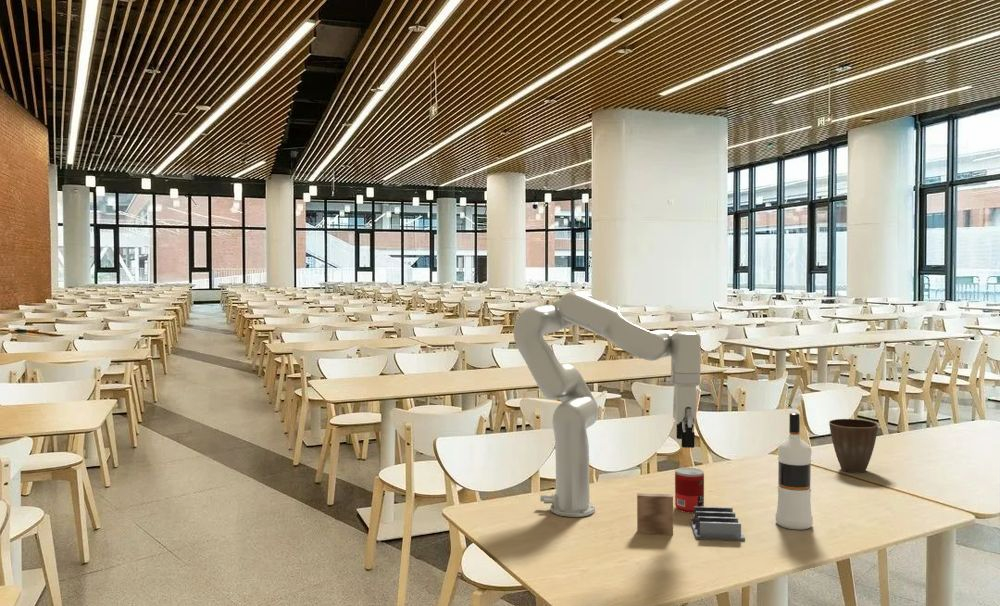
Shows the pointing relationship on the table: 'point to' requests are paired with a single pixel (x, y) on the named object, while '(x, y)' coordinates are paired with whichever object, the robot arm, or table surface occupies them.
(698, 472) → the canned food
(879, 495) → the table surface
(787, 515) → the vodka
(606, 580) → the table surface
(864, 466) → the plant pot
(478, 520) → the table surface
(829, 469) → the table surface
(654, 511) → the board
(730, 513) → the rack
